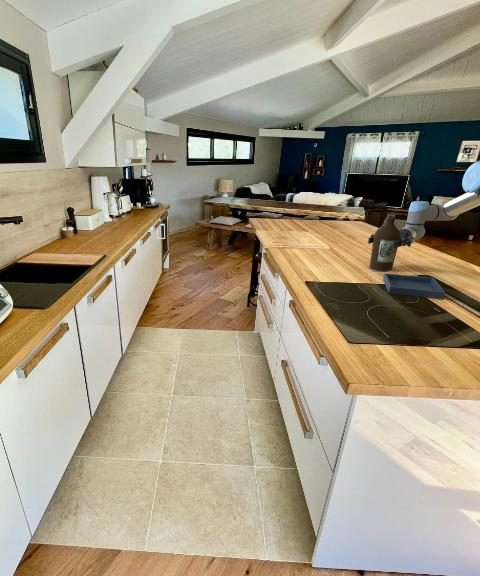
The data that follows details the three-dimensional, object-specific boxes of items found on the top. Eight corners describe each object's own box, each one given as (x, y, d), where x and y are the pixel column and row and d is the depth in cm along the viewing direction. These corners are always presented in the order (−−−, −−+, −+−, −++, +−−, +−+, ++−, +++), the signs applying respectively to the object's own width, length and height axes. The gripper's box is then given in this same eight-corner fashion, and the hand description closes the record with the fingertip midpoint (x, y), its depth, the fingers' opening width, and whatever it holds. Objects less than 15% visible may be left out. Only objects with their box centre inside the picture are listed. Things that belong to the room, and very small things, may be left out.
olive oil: (365, 264, 156) (374, 213, 146) (388, 265, 153) (400, 213, 144) (371, 271, 146) (382, 217, 137) (396, 272, 144) (409, 217, 134)
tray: (431, 284, 129) (433, 277, 128) (443, 299, 115) (445, 292, 114) (383, 279, 136) (384, 273, 135) (388, 293, 122) (390, 286, 121)
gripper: (428, 247, 147) (407, 256, 135) (378, 239, 165) (355, 246, 153) (432, 232, 144) (411, 239, 132) (381, 225, 162) (358, 230, 150)
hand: (381, 242), depth 143 cm, fingers closed on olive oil, 11 cm apart
